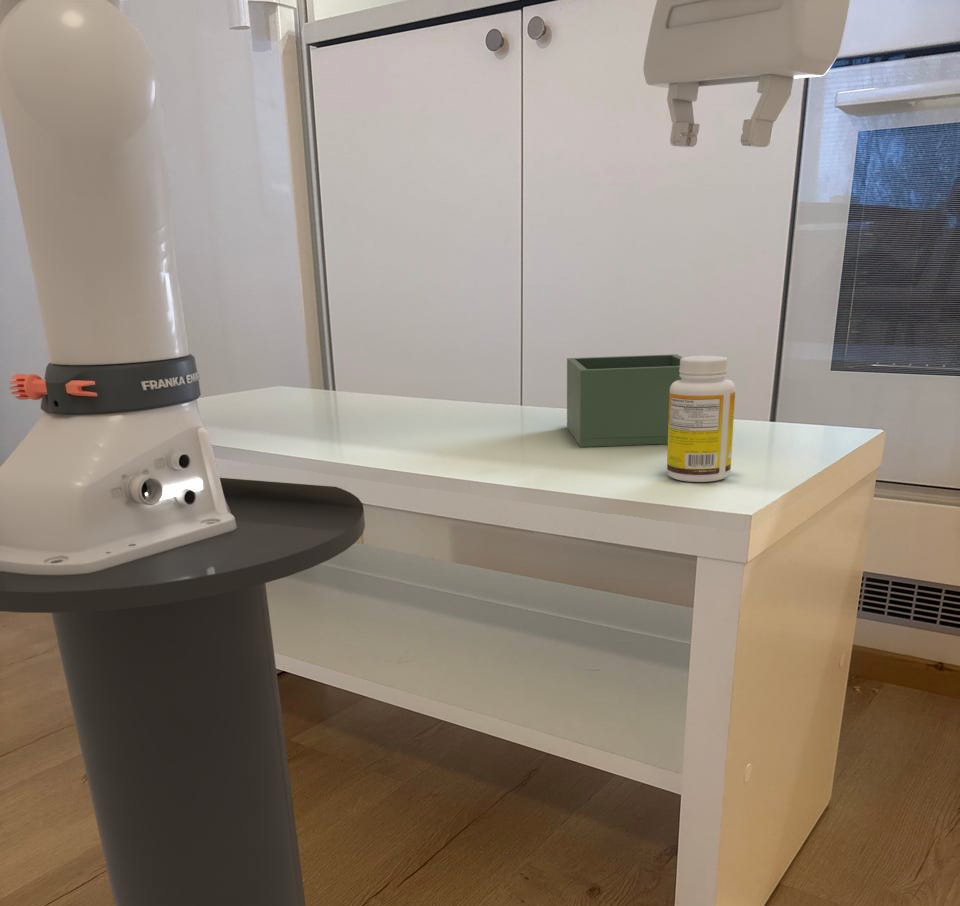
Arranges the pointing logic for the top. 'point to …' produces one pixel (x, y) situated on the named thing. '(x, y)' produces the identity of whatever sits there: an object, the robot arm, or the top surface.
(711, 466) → the supplement bottle
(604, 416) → the storage box
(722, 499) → the top surface
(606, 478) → the top surface
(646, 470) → the top surface
